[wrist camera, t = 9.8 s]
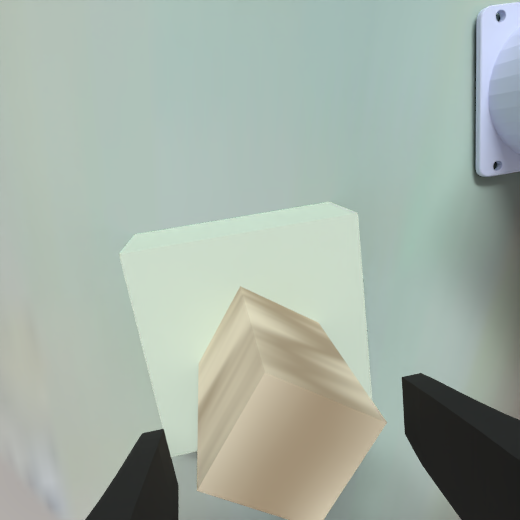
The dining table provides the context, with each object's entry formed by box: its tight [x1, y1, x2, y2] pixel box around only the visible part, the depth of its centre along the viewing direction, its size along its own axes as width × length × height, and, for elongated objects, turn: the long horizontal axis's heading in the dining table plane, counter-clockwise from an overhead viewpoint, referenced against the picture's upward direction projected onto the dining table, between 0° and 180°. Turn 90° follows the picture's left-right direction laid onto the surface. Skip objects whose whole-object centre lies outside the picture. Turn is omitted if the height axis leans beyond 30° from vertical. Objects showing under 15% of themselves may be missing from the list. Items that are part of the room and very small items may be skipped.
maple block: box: [197, 286, 387, 520], centre depth 15 cm, size 4×4×7 cm
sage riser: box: [119, 202, 372, 457], centre depth 20 cm, size 10×10×4 cm
